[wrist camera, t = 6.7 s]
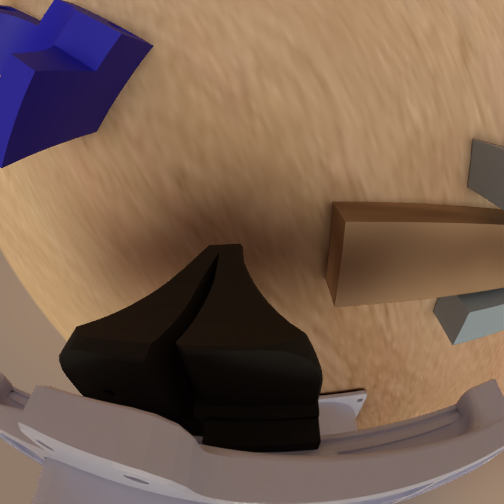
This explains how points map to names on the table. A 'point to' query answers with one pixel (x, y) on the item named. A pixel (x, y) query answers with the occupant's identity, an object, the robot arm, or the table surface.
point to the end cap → (484, 302)
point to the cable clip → (59, 75)
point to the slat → (412, 251)
